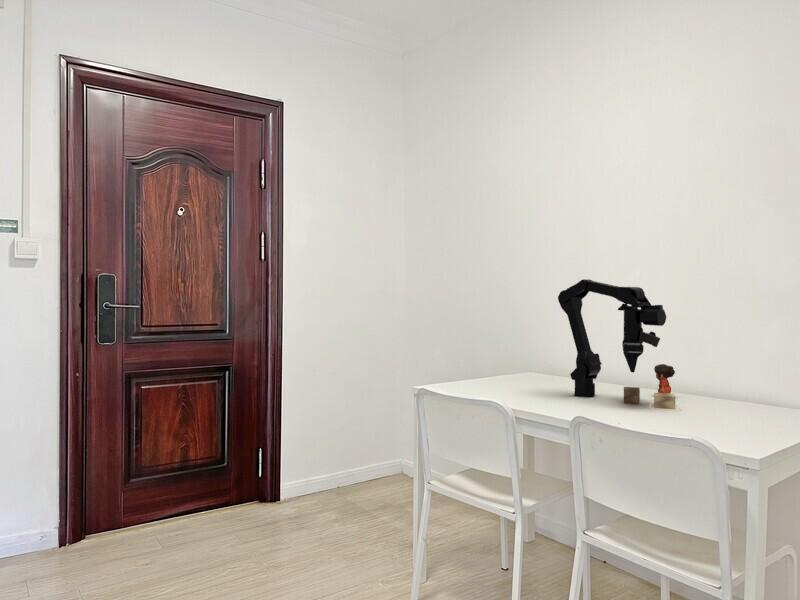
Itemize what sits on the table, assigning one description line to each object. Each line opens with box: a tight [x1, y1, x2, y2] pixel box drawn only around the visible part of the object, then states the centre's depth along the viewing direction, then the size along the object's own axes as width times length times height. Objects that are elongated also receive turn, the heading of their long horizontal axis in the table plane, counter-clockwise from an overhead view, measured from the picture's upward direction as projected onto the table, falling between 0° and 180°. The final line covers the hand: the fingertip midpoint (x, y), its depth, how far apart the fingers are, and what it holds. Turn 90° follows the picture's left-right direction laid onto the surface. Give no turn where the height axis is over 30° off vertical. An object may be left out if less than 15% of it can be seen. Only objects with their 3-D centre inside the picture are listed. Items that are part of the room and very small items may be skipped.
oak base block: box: [653, 392, 676, 410], centre depth 197 cm, size 6×6×4 cm
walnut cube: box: [623, 386, 641, 406], centre depth 205 cm, size 5×5×5 cm
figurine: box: [653, 363, 676, 394], centre depth 217 cm, size 6×6×12 cm
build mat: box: [648, 403, 682, 412], centre depth 200 cm, size 22×15×1 cm
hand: (632, 370), depth 205 cm, fingers open, 9 cm apart
